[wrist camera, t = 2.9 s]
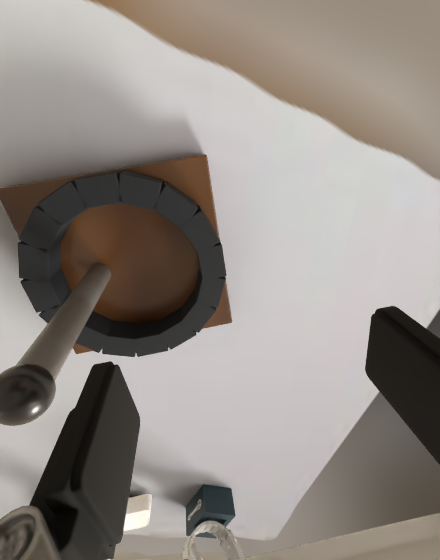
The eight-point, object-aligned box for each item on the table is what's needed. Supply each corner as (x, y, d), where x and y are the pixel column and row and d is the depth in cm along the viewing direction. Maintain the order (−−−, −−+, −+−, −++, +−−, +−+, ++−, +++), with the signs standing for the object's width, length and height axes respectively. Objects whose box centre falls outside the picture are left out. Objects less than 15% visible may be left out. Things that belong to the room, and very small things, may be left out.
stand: (80, 345, 25) (-20, 542, 12) (5, 186, 19) (-344, 257, 6) (230, 315, 26) (278, 472, 13) (205, 154, 20) (251, 158, 7)
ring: (76, 353, 24) (67, 371, 22) (-3, 190, 18) (-26, 195, 16) (231, 322, 25) (235, 337, 23) (205, 156, 19) (208, 156, 17)
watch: (189, 482, 36) (193, 607, 26) (242, 490, 38) (263, 607, 29) (172, 506, 38) (170, 631, 28) (223, 512, 40) (237, 630, 30)
